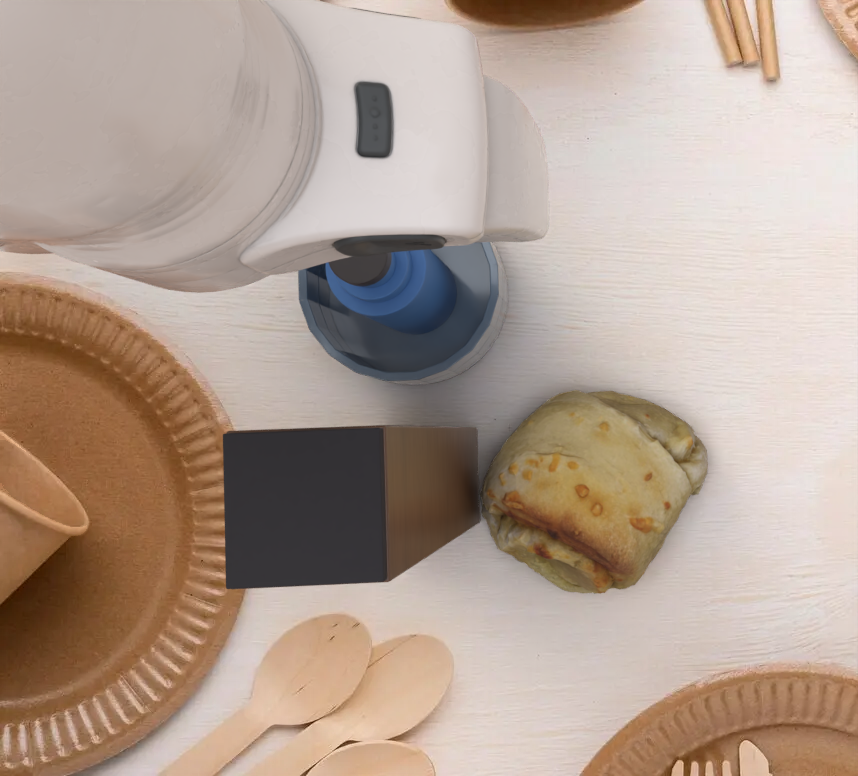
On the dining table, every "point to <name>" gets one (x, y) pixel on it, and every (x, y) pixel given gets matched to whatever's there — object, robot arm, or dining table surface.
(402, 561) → the pedestal
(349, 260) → the bottle
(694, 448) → the pastry
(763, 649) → the dining table surface
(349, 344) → the bowl
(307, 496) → the mat
